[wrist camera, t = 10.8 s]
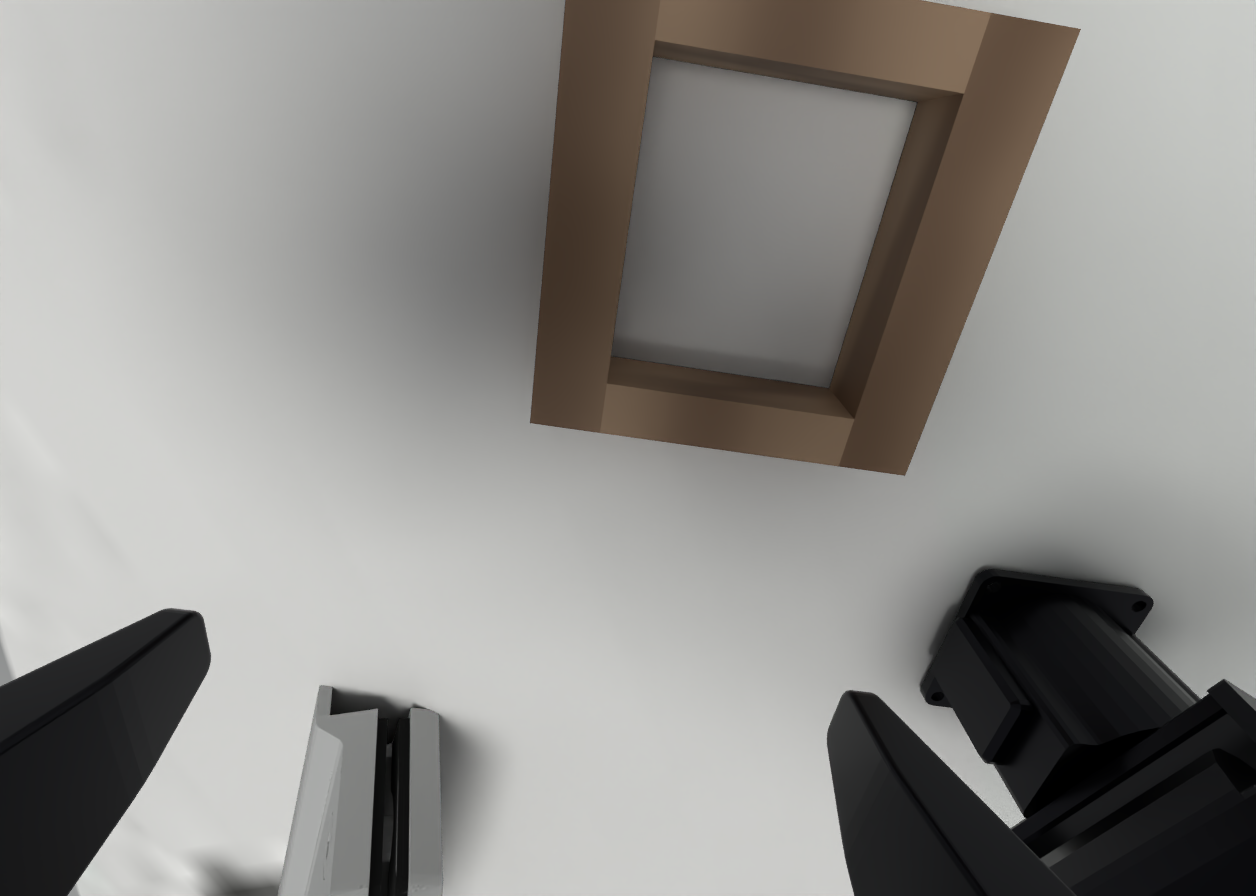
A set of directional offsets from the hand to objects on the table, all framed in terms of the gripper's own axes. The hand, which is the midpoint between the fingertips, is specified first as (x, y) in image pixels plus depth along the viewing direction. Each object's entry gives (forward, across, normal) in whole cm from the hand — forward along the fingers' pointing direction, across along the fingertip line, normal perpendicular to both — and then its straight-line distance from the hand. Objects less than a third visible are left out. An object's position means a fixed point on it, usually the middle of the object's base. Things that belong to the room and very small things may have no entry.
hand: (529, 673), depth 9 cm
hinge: (+12, +7, +24) cm, 28 cm away
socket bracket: (+12, -4, -5) cm, 14 cm away
